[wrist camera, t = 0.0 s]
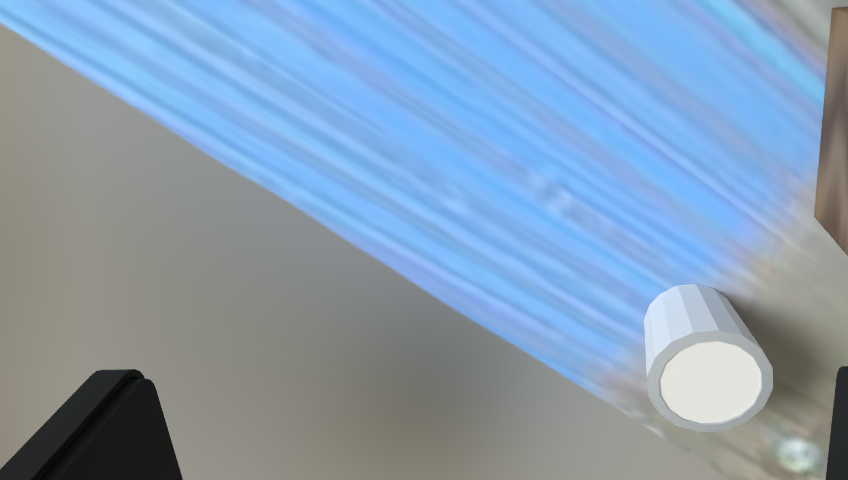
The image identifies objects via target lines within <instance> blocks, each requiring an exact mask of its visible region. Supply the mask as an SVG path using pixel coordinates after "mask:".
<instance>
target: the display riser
mask: <svg viewBox="0 0 848 480" xmlns="http://www.w3.org/2000/svg"><path fill="white" fill-rule="evenodd" d="M814 217H815V218H816V219H817V220H818V221H819V223H820V224H821V225H822V226H823V227H824V229H825V230H826V231H827V232H828V233H829V234H830V236H831V237H832V238H833V239H834V240H835V241H836V243H837V244H838V245H839V246H840V247H841V249H842V250H843V251H844V252H845V253H846V254H847V256H848V7H839V8H832V16H831V28H830V40H829V51H828V63H827V74H826V86H825V98H824V109H823V121H822V132H821V144H820V156H819V167H818V179H817V190H816V202H815V213H814Z"/></svg>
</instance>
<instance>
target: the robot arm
mask: <svg viewBox="0 0 848 480" xmlns="http://www.w3.org/2000/svg"><path fill="white" fill-rule="evenodd" d="M0 480H183V479H182V476H181V472H180V469H179V466H178V462H177V459H176V455H175V452H174V449H173V445H172V442H171V439H170V435H169V432H168V428H167V425H166V422H165V418H164V415H163V411H162V408H161V405H160V401H159V398H158V395H157V391H156V388H155V386H154V384H153V382H152V381H151V380H149V379H145V378H144V376H143V374H142V373H141V372H140V371H138V370H135V369H131V370H130V369H128V370H100V371H96V372H95V373H93V374H92V375H91V376H90V377H89V378H88V379H87V380H86V381H85V382H84V383H83V384H82V386H80V388H79V389H78V390H77V391H76V392H75V393H74V394H73V395H72V396H71V397H70V398H69V399H68V400H67V401H66V402H65V403H64V404H63V405H62V406H61V407H60V408H59V409H58V410H57V411H56V412H55V413H54V414H53V415H52V417H51V418H50V419H49V420H48V421H47V422H46V423H45V424H44V425H43V426H42V427H41V428H40V429H39V430H38V431H37V432H36V433H35V434H34V435H33V436H32V437H31V438H30V439H29V440H28V441H27V442H26V443H25V444H24V446H23V447H22V448H21V449H20V450H19V451H18V452H17V453H16V454H15V455H14V456H13V457H12V458H11V459H10V460H9V461H8V462H7V463H6V464H5V465H4V466H3V467H2V468H1V469H0ZM826 480H848V366H842V367H841V368H839V371H838V373H837V379H836V388H835V398H834V407H833V416H832V426H831V435H830V444H829V454H828V463H827V472H826Z"/></svg>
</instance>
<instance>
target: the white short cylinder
mask: <svg viewBox="0 0 848 480" xmlns="http://www.w3.org/2000/svg"><path fill="white" fill-rule="evenodd" d="M644 323H645V345H646V367H647V383H648V394H649V398H650V400H651V401H652V403H653V405H654V406H655V408H656V409H657V411H658V413H659V414H660V415H662V416H663V417H664V418H666V419H667V420H669V421H670V422H672V423H673V424H675V425H676V426H678V427H682V428H685V429H689V430H693V431H697V432H713V431H725V430H728V429H730V428H733V427H735V426H738V425H741V424H743V423H746V422H747V421H749V420H750V419H751V418H752V417H753V416H754V415H756V414H757V413H758V412H759V411H760V410H761V409H762V408H764V406H765V404H766V402H767V400H768V398H769V396H770V394H771V392H772V390H773V368H772V366H771V364H770V362H769V361H768V359H767V357H766V355H765V354H764V352H763V350H762V348H761V347H760V346H759V344H758V343H757V341H756V340H755V338H754V337H753V335H752V334H751V333H750V331H749V330H748V328H747V327H746V325H745V324H744V323H743V321H742V320H741V318H740V317H739V315H738V314H737V312H736V311H735V310H734V308H733V307H732V305H731V304H730V302H729V301H728V299H727V298H726V297H725V296H723V295H722V294H720V293H719V292H718V291H716V290H715V289H713V288H711V287H707V286H703V285H699V284H688V285H678V286H675V287H673V288H671V289H669V290H667V291H665V292H662V293H661V294H660V295H659V296H658V297H657V298H656V299H655V300H654V301H653V302H652V303H651V304H650V306H649V308H648V311H647V314H646V316H645V319H644Z"/></svg>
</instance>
